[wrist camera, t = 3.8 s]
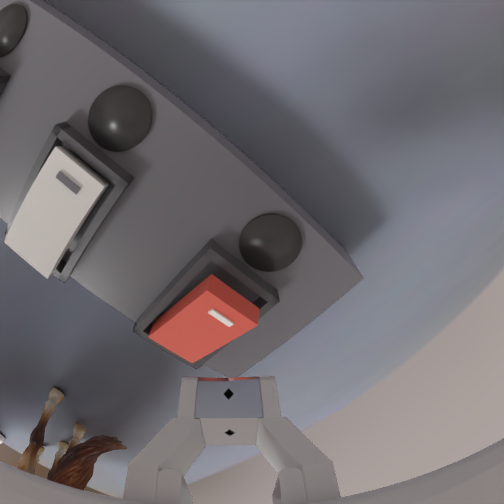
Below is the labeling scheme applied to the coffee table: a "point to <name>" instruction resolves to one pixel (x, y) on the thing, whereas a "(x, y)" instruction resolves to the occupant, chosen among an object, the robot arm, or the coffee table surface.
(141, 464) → the robot arm
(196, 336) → the red rocker
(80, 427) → the horse figurine
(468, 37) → the coffee table surface
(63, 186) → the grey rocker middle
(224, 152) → the grey switch panel
